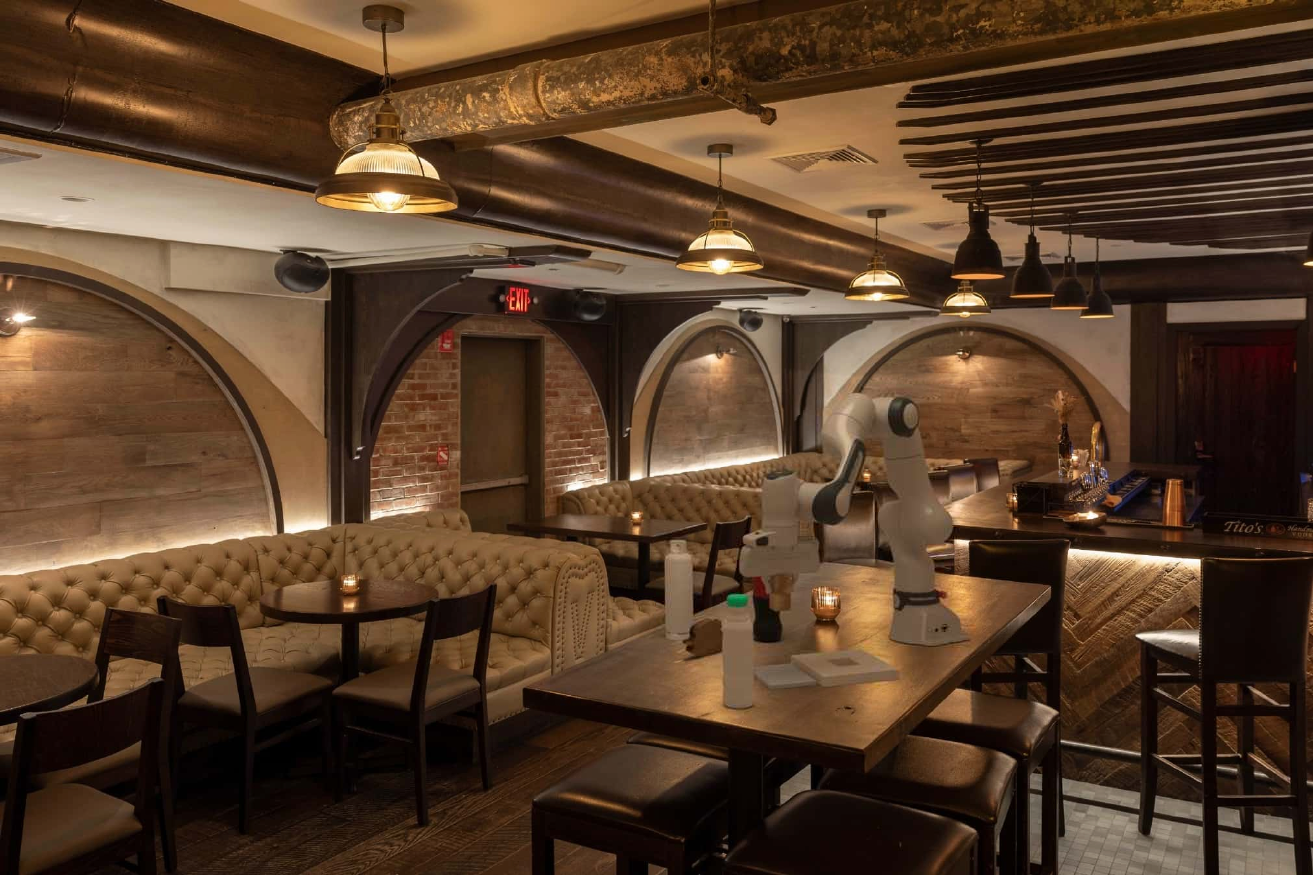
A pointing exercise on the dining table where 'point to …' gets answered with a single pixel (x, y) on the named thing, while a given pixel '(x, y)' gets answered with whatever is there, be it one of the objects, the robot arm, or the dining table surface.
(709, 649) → the wooden carving
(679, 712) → the dining table surface
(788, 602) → the oak block
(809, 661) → the beige board with hole
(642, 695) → the dining table surface
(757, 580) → the cola bottle
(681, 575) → the bottle
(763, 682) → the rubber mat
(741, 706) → the water bottle
